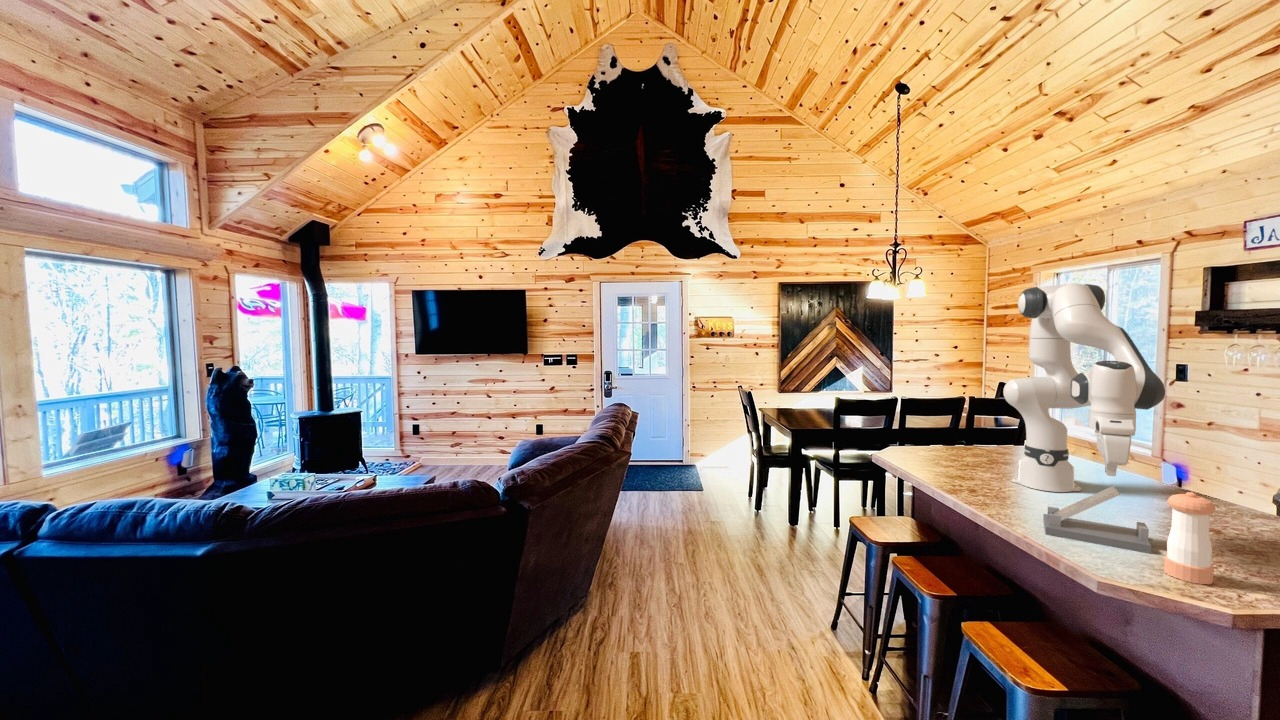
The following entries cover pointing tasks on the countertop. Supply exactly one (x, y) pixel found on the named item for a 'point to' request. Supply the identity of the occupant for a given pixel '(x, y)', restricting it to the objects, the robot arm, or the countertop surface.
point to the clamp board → (1097, 532)
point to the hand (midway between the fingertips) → (1110, 474)
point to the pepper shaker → (1190, 539)
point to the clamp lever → (1087, 503)
